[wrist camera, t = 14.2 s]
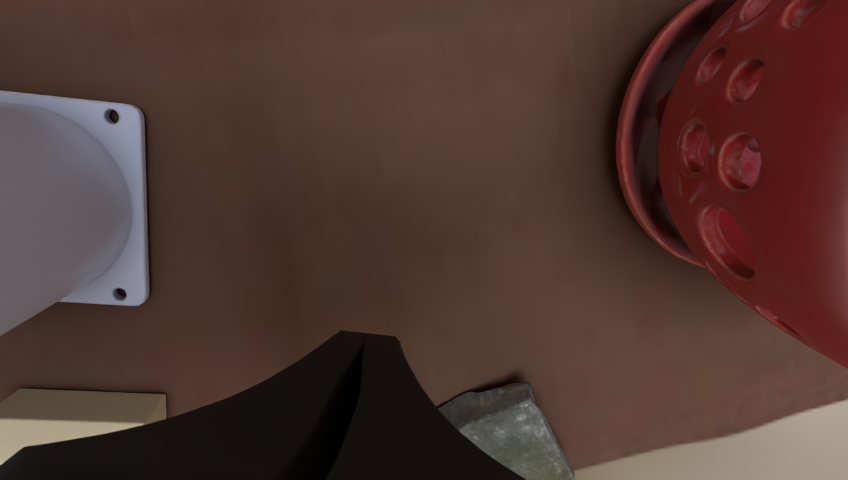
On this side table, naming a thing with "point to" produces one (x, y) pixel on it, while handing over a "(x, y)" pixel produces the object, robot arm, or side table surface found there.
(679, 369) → the side table surface
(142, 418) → the button box
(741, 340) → the side table surface
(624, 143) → the flower pot
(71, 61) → the side table surface
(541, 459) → the stone
